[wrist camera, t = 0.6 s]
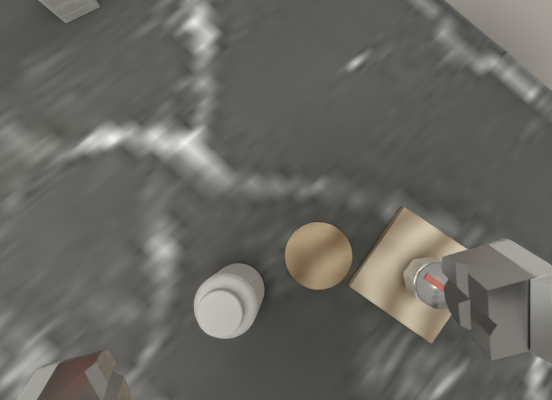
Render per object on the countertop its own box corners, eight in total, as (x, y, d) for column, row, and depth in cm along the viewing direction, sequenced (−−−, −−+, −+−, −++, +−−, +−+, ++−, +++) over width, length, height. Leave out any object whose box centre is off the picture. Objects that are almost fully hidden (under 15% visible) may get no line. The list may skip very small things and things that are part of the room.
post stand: (480, 260, 55) (516, 270, 46) (426, 339, 55) (452, 363, 46) (400, 207, 56) (421, 206, 47) (347, 283, 56) (357, 297, 47)
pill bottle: (247, 252, 57) (230, 266, 42) (274, 297, 57) (268, 328, 42) (203, 279, 57) (170, 303, 42) (230, 324, 57) (207, 365, 42)
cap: (454, 273, 50) (474, 281, 45) (430, 307, 50) (448, 319, 45) (419, 249, 51) (435, 254, 45) (396, 283, 51) (408, 292, 45)
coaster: (364, 247, 56) (365, 247, 56) (326, 302, 56) (327, 302, 56) (309, 209, 57) (309, 209, 56) (272, 263, 57) (271, 264, 56)
